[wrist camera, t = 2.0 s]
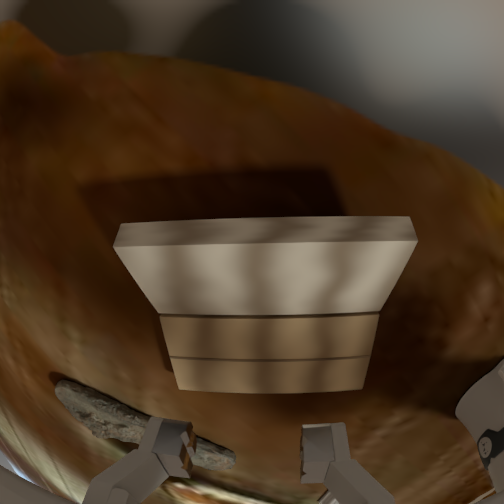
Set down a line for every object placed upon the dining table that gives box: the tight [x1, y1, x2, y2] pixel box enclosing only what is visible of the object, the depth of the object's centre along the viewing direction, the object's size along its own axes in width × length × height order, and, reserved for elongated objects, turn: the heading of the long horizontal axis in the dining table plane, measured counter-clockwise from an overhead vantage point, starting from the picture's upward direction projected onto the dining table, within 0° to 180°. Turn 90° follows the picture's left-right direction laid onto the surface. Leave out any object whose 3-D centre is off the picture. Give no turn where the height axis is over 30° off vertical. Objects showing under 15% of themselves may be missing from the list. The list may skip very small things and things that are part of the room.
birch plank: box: [113, 216, 418, 315], centre depth 28 cm, size 24×12×2 cm, turn 93°
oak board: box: [160, 311, 379, 393], centre depth 36 cm, size 24×12×3 cm, turn 93°
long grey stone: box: [55, 379, 236, 470], centre depth 46 cm, size 35×5×10 cm
